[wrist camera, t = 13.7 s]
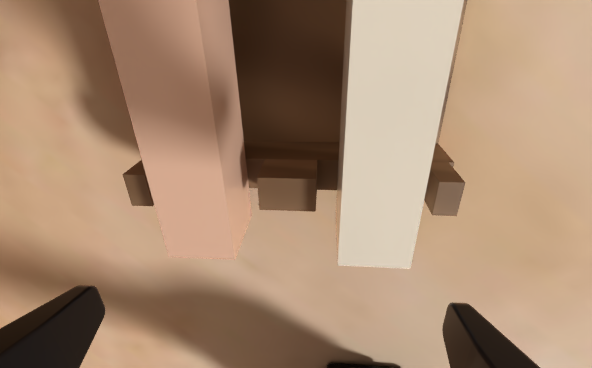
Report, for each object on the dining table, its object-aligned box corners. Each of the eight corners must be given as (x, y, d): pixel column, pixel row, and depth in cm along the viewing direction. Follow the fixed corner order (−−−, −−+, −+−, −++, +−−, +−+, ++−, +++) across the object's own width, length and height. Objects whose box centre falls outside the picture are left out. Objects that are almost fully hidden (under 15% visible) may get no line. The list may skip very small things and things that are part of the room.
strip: (394, 220, 16) (410, 268, 13) (335, 218, 17) (337, 265, 13) (453, -160, 10) (512, -241, 7) (354, -154, 10) (366, -229, 7)
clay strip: (251, 214, 17) (235, 259, 14) (197, 213, 17) (168, 257, 14) (212, -147, 10) (163, -216, 7) (124, -140, 11) (41, -204, 8)
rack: (426, 176, 18) (459, 229, 14) (176, 170, 20) (130, 217, 15) (478, -91, 13) (562, -150, 8) (124, -75, 14) (26, -118, 9)
